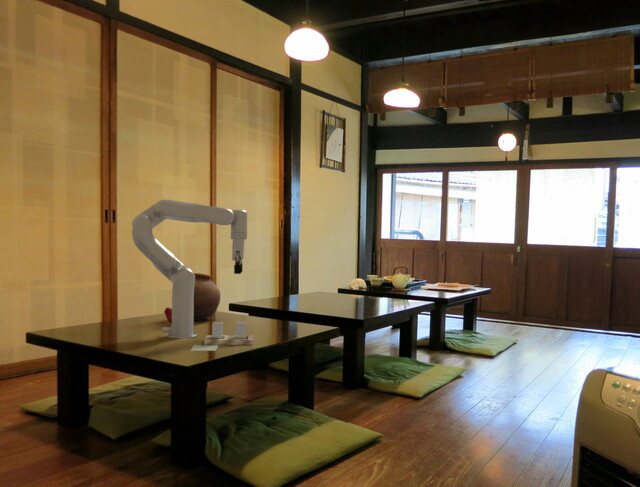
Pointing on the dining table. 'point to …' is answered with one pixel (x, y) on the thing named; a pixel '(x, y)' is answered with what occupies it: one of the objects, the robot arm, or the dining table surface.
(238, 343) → the pallet
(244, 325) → the billet
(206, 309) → the pottery
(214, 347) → the rubber mat
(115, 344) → the dining table surface
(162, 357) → the dining table surface
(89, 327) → the dining table surface
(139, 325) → the dining table surface
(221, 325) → the block
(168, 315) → the decorative bird figurine
